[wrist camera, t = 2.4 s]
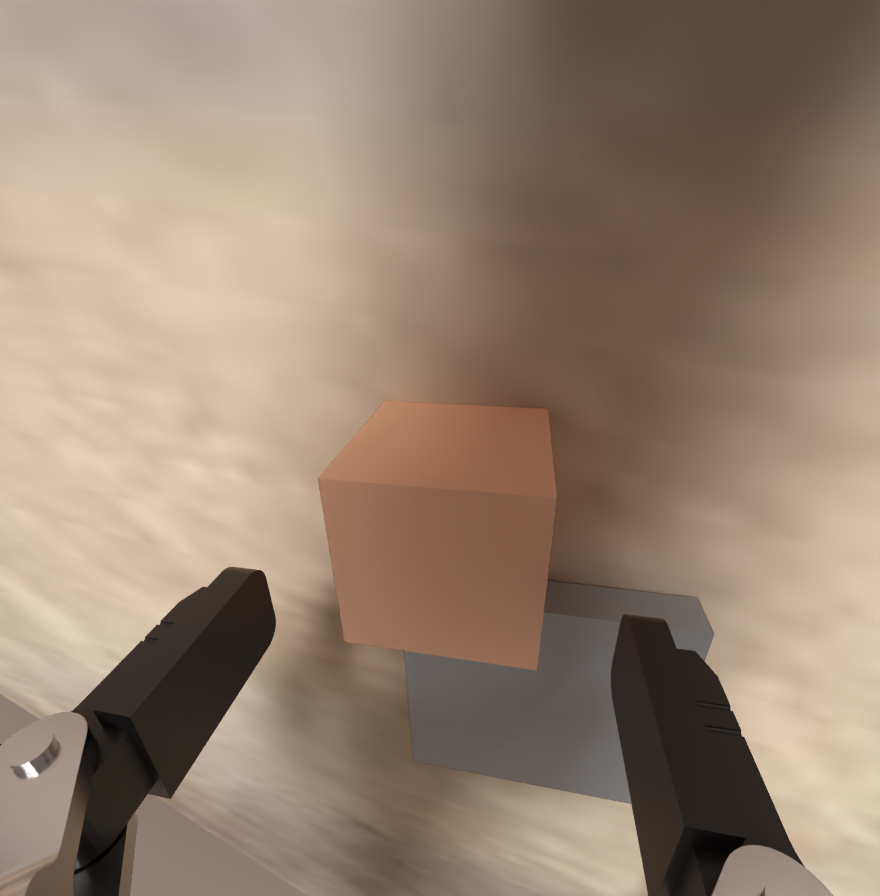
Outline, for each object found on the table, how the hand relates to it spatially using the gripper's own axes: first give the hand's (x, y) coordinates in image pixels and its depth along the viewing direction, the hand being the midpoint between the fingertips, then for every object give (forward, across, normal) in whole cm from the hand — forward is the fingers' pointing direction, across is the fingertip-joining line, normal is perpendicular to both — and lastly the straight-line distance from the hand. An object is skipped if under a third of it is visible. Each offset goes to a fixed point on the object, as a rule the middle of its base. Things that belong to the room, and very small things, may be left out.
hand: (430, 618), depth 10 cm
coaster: (+6, -3, +8) cm, 11 cm away
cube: (+6, 0, -1) cm, 6 cm away
